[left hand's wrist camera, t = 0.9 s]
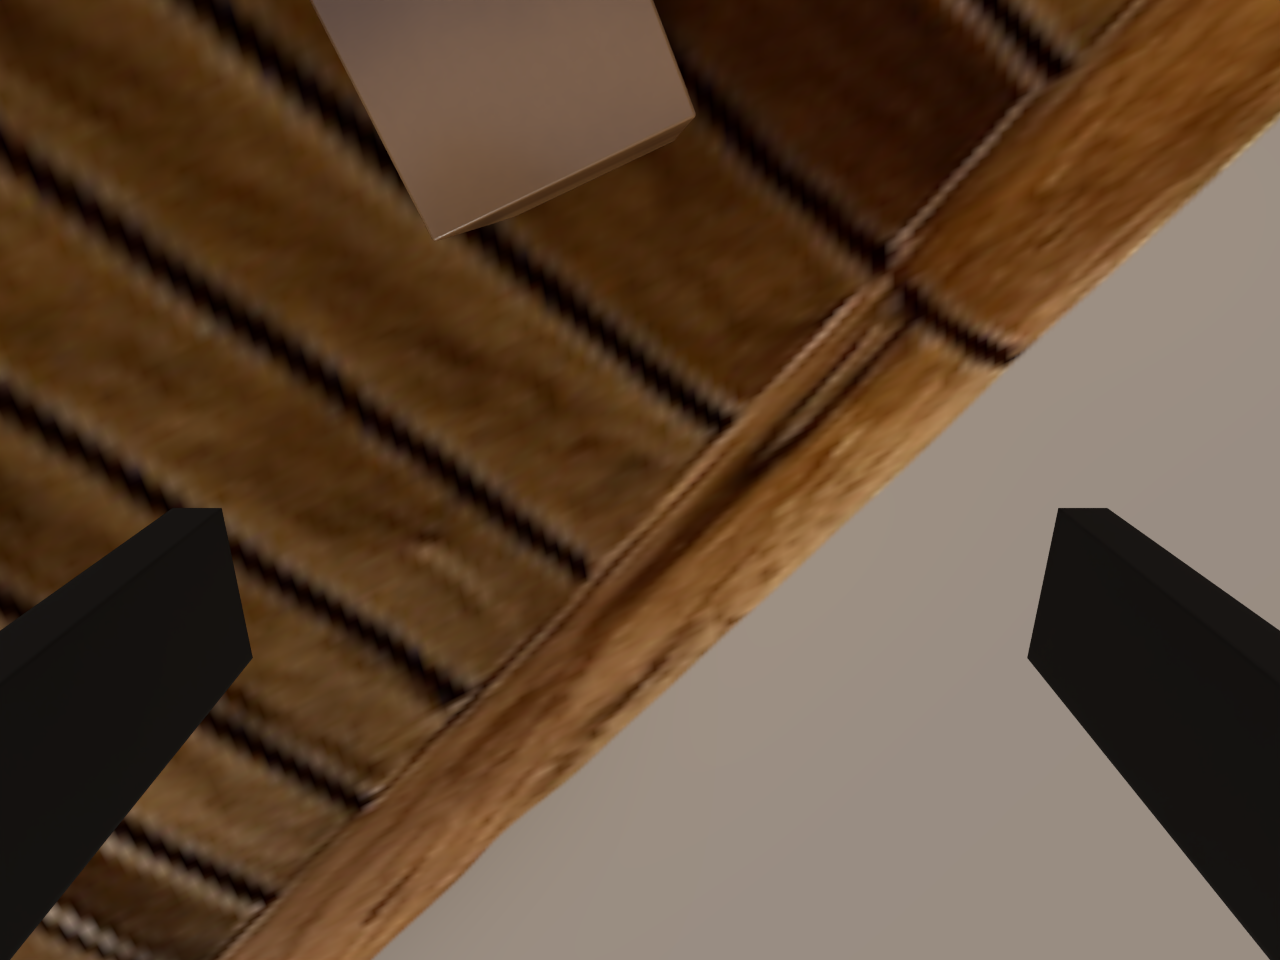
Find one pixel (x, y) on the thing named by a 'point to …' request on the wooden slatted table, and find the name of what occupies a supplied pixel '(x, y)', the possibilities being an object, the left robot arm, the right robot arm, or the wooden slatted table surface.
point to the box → (507, 96)
